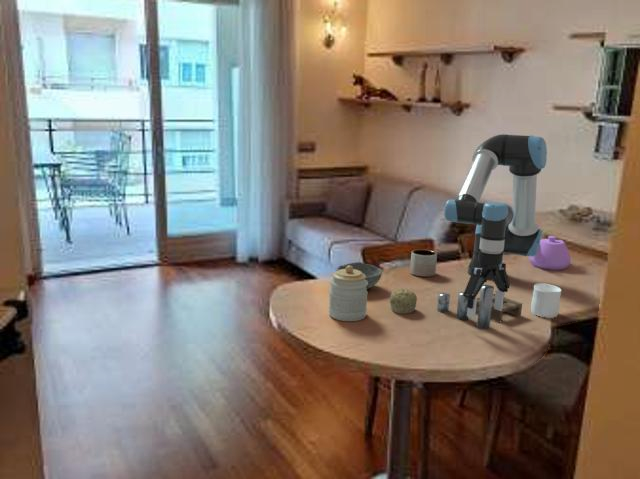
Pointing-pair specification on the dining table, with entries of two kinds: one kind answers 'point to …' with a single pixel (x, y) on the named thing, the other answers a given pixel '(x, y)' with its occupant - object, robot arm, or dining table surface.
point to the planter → (423, 263)
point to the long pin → (485, 307)
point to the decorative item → (403, 301)
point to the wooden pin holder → (503, 308)
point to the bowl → (366, 272)
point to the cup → (545, 300)
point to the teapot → (551, 254)
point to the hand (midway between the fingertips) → (484, 313)
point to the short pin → (443, 302)
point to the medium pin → (462, 307)
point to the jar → (348, 295)
